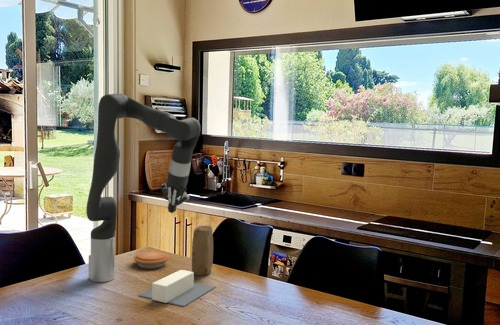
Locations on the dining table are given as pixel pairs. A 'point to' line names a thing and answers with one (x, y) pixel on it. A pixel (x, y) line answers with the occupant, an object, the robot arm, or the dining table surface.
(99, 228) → the robot arm
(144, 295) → the mat
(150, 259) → the pie
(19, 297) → the dining table surface
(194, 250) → the tan textured post
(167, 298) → the tall cream block
